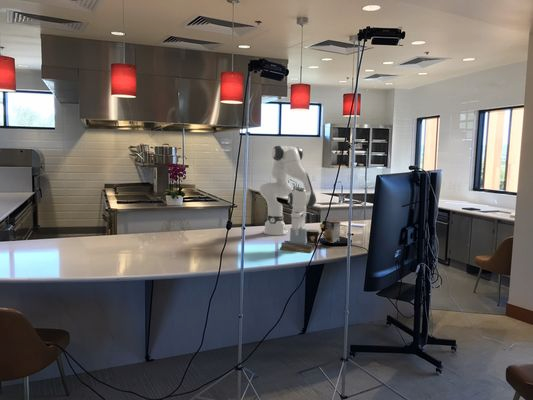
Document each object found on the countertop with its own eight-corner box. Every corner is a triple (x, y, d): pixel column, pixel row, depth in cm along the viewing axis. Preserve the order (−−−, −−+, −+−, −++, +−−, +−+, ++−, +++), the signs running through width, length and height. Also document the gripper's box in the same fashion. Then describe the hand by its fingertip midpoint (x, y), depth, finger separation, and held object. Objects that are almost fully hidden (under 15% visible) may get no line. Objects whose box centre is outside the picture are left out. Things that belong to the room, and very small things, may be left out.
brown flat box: (286, 245, 305) (286, 239, 304) (315, 248, 298) (315, 242, 298) (279, 249, 292) (280, 243, 291) (310, 252, 285) (310, 246, 285)
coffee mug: (303, 245, 307) (304, 230, 306) (308, 243, 314) (309, 229, 313) (319, 247, 301) (320, 232, 300) (324, 245, 309) (325, 230, 308)
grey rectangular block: (291, 245, 298) (291, 227, 297) (306, 247, 295) (306, 228, 293) (289, 246, 295) (290, 228, 294) (304, 248, 292) (305, 229, 291)
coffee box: (323, 243, 315) (324, 220, 313) (329, 242, 319) (330, 219, 317) (332, 246, 307) (333, 222, 306) (339, 245, 311) (340, 221, 310)
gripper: (298, 210, 303) (297, 231, 305) (290, 214, 284) (289, 236, 285) (307, 211, 301) (307, 232, 303) (300, 215, 282) (299, 237, 283)
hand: (298, 234), depth 294 cm, fingers open, 5 cm apart
